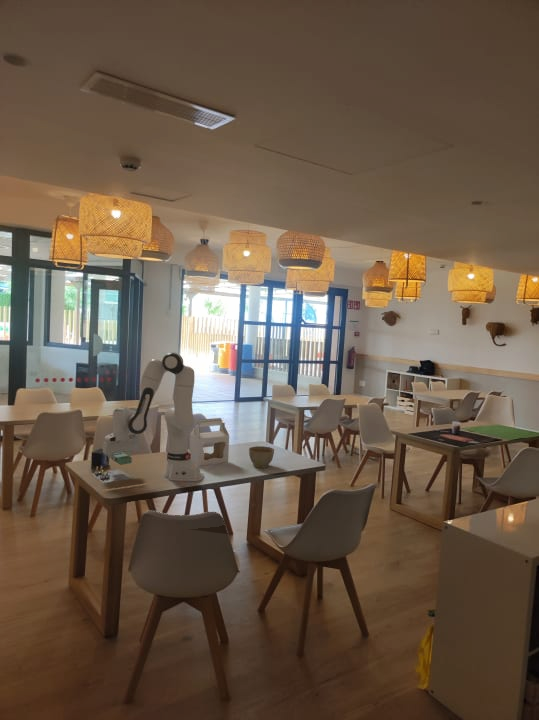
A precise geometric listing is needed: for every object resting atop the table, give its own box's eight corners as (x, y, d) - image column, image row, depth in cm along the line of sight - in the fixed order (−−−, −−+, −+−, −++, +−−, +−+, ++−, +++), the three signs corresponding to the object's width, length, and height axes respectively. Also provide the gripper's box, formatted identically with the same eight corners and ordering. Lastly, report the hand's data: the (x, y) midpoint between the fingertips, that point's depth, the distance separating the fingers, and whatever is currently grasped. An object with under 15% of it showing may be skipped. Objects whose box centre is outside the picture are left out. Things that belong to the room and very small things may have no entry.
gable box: (197, 466, 321) (199, 421, 319) (188, 461, 331) (190, 418, 329) (228, 462, 334) (230, 419, 332) (218, 457, 344) (220, 415, 342)
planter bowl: (256, 461, 339) (256, 444, 339) (277, 465, 332) (278, 448, 331) (243, 466, 325) (244, 449, 324) (265, 471, 318) (266, 453, 317)
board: (131, 462, 290) (131, 457, 290) (120, 464, 286) (120, 459, 286) (122, 457, 301) (122, 452, 301) (111, 459, 298) (111, 454, 297)
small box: (100, 470, 301) (101, 453, 300) (90, 469, 302) (90, 452, 302) (109, 466, 311) (110, 449, 311) (99, 465, 313) (100, 448, 312)
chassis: (133, 480, 287) (133, 470, 286) (102, 484, 276) (102, 474, 276) (119, 470, 303) (120, 461, 302) (90, 474, 292) (90, 465, 292)
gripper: (136, 432, 301) (136, 455, 302) (101, 437, 289) (102, 461, 290) (140, 434, 296) (141, 457, 297) (105, 439, 284) (106, 464, 285)
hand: (121, 459), depth 294 cm, fingers closed on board, 6 cm apart
